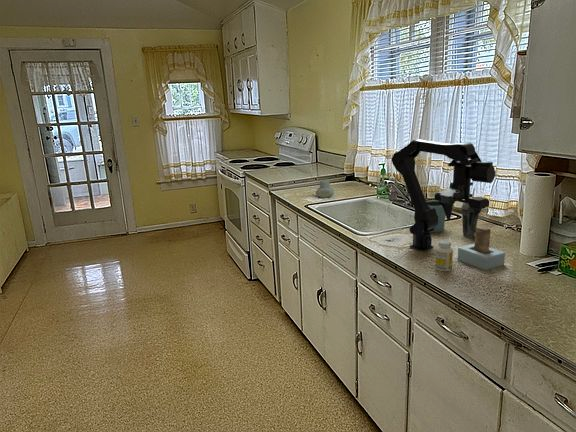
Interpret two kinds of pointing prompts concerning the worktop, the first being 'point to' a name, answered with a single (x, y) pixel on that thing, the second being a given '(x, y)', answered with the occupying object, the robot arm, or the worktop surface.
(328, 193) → the air freshener
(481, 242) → the wooden block
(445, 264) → the supplement bottle
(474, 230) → the beverage cup
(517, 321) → the worktop surface
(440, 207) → the blue-grey round container
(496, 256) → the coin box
